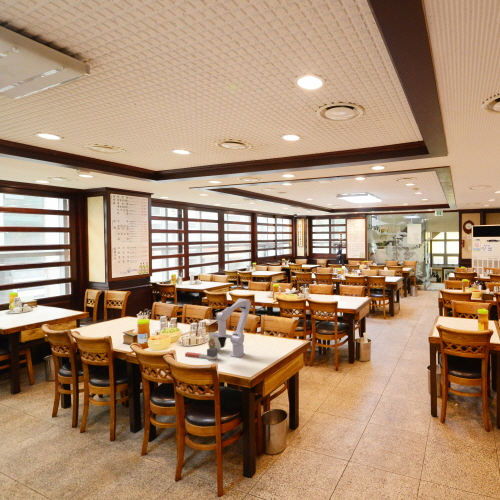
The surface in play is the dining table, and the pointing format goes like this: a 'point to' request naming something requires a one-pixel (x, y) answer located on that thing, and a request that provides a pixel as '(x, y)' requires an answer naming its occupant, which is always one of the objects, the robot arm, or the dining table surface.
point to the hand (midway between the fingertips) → (222, 347)
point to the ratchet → (201, 356)
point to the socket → (212, 352)
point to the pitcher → (214, 341)
